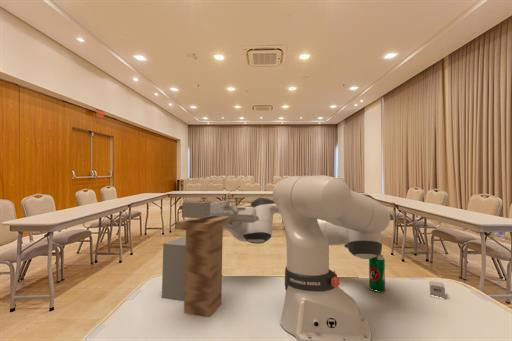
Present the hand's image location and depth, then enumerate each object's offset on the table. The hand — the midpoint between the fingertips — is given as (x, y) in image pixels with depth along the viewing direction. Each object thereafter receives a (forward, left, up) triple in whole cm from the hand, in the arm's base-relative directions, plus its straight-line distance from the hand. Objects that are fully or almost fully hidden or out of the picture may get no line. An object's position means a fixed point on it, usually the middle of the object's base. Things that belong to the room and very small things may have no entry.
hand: (223, 204), depth 92 cm
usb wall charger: (-71, -17, -30) cm, 79 cm away
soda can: (-52, -16, -30) cm, 62 cm away
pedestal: (+12, +3, -29) cm, 32 cm away
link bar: (0, +9, -2) cm, 9 cm away
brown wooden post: (0, +14, -29) cm, 33 cm away
